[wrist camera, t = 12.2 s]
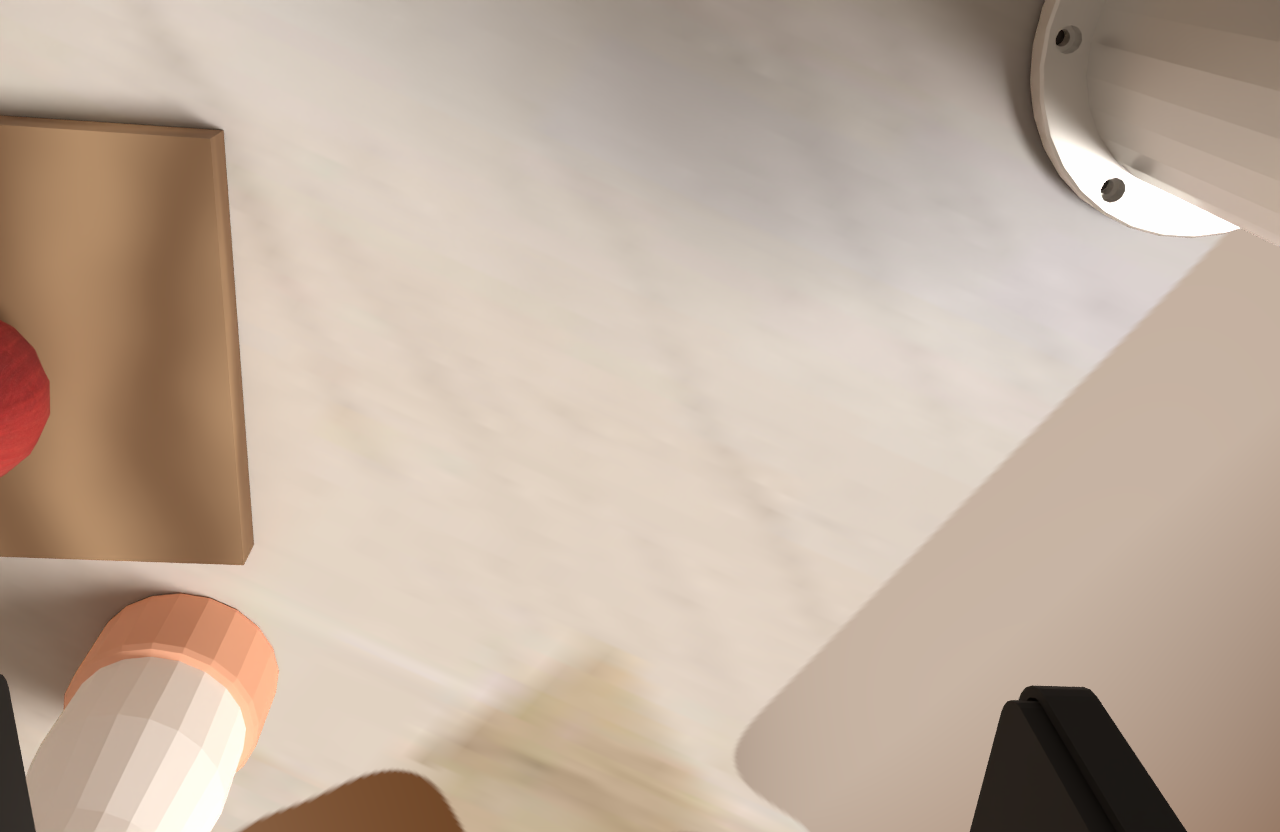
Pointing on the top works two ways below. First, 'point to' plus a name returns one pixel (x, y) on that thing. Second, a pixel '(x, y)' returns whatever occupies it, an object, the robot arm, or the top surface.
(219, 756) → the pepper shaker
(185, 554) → the board
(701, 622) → the top surface
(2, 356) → the onion
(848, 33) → the top surface
